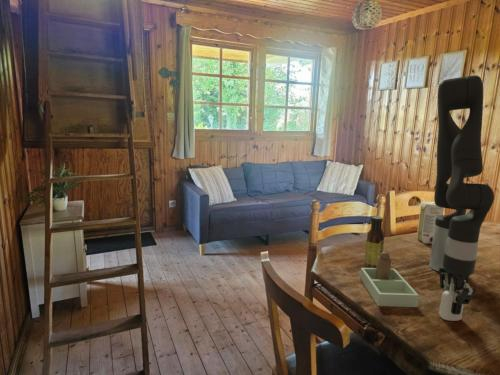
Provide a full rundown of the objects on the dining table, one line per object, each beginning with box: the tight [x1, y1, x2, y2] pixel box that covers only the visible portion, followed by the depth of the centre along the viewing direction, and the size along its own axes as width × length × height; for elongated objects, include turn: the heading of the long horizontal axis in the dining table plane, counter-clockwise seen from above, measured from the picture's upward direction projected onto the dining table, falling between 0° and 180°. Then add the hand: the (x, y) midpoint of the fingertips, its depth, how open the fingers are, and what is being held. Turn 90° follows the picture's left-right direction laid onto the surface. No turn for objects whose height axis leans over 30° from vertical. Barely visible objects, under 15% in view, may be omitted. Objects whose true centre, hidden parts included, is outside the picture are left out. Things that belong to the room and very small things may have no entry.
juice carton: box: [416, 200, 445, 245], centre depth 152 cm, size 8×9×19 cm
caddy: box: [359, 251, 420, 308], centre depth 107 cm, size 12×18×12 cm, turn 179°
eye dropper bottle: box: [438, 284, 465, 322], centre depth 93 cm, size 4×6×12 cm
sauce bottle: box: [364, 215, 385, 268], centre depth 124 cm, size 7×6×20 cm
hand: (451, 309), depth 93 cm, fingers closed on eye dropper bottle, 3 cm apart
